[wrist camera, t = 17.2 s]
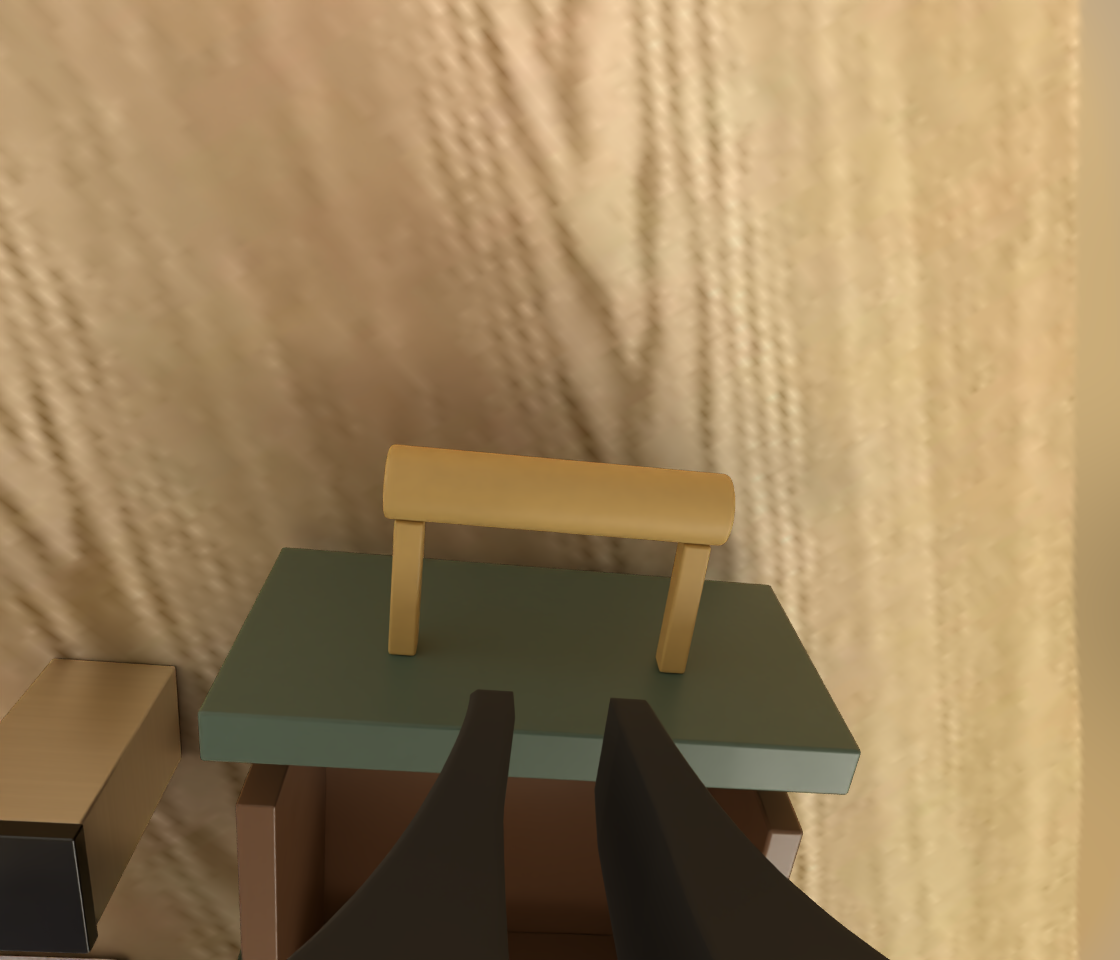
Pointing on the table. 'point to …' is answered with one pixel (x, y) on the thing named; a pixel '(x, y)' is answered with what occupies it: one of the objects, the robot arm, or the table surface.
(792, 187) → the table surface
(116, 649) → the table surface
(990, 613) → the table surface
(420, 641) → the drawer
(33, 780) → the metal-capped square post
